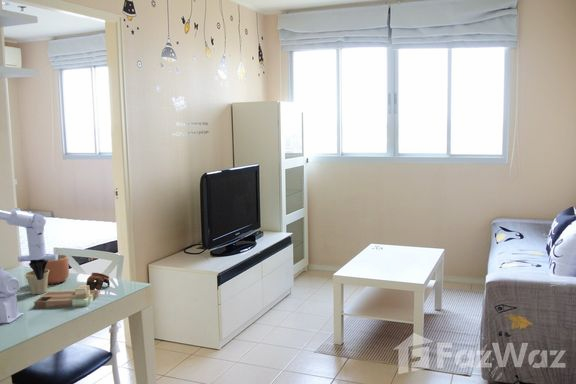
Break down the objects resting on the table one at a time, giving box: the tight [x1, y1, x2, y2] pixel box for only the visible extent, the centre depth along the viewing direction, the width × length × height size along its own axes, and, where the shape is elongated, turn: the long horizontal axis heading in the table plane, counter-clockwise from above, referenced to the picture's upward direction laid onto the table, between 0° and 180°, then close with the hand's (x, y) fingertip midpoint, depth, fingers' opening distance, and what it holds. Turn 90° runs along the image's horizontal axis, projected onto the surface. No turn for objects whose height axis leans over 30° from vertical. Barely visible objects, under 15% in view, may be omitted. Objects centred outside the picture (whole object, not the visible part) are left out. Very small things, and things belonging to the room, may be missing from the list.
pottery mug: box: [86, 272, 111, 291], centre depth 221 cm, size 12×10×8 cm
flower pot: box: [24, 269, 49, 295], centre depth 220 cm, size 9×9×9 cm
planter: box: [45, 254, 70, 285], centre depth 235 cm, size 12×12×11 cm
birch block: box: [74, 285, 90, 299], centre depth 203 cm, size 4×4×4 cm
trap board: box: [33, 289, 100, 309], centre depth 206 cm, size 12×20×2 cm, turn 89°
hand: (40, 279), depth 203 cm, fingers closed
